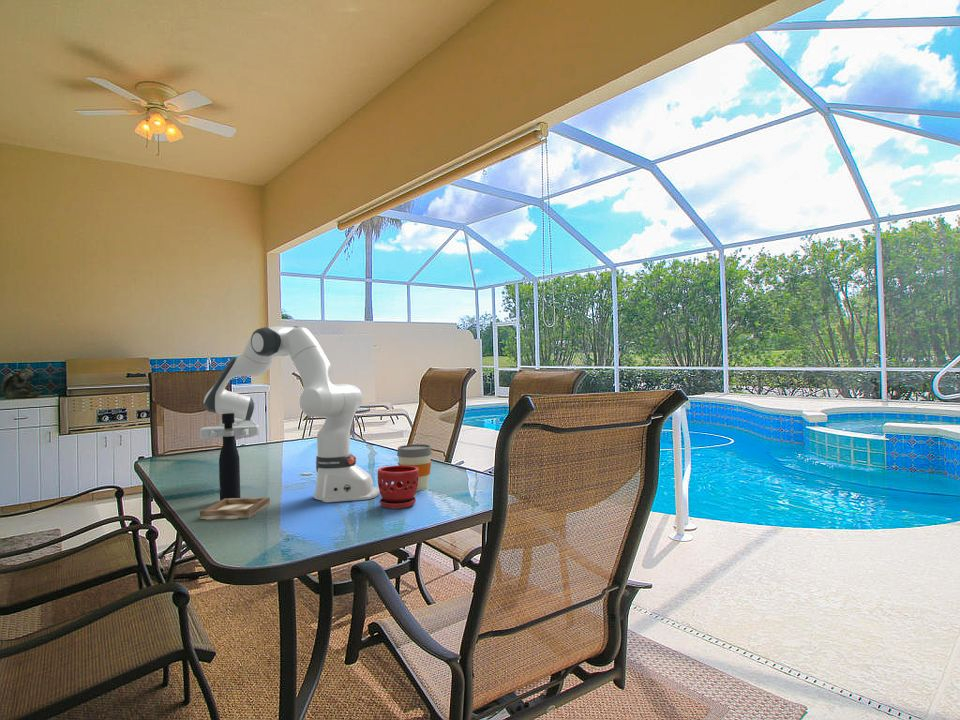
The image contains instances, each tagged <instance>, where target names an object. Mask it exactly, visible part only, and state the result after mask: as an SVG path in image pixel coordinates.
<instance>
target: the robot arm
mask: <svg viewBox="0 0 960 720" xmlns="http://www.w3.org/2000/svg"><path fill="white" fill-rule="evenodd" d="M284 356H285V357H286V356H289V357H290V360H292V361H291V362H292V363H293V364H294V366H295V368H296V370H297V372H298V374H299V377H300V379H301V381H302V386H303V389H302V393H301V395H300V397H299V406H300V409H301V411H302V413H303V414H304V415H306V416H307V417H313V418H325V420H324V423H323V425H322V427H321V428H320V429H319V431H318V432H317V434H316V448H317V449H316V450H317V452H316V456H315V457H316V458H315V469H316V470H315V471H316V482H315V483H316V484H315V490H314V494H313V499H315V500H319V501H321V502H323V503H335V502H350V501H351V502H352V501H365V500H370V499H371V500H372V499H374V498H376V497H377V496H378V495H379V494H380V491H379V487H378V486H377V487H376V486H374V482H373V478H372V476H371V474H370V473H369V472H367V471H366V470H364V469H363V468H362V467H360V466H359V465H357V455H353V454H352V453H351V429H352V424H353V422H354V421H353V420H354V417H355V414H356V412H357V410H358V409H359V408H360V407H361V406H362V402H363V393H362V391H361V389H360V388H359V387H358V386H357V385H354V384H349V383H332V382H331V380H330V378H329V373H330V372H331V371H332V370H331V369H332V364H331V362H330V361H329V359H328V357H327V355H326V353H325V351H324V350H323V347H322V346H321V344H320V343H319V341H318V340H317V338H316V337H315V336H314V334H312V332H311V331H310V330H309V329H308V328H307V327H303V326H284V325H282V326H281V325H277V326H276V325H275V326H269V327H260V328H257V329H255V330H254V331H253V333H252V334H251V336H250V338H249V340H248V341H247V342H246V345H245V348H244V350H243V352H242V354H240V355H238V356H237V357H232V359H230V360H229V361H228V362H227V364H226V366H225V367H224V368H223V370H222V372H221V373H220V374H219V376H218V378H217V379H216V381H215V383H214V384H213V385H212V387H211V388H210V389H209V390H208V391H207V393H206V394H205V396H204V399H203V407H204V409H205V410H206V412H208V413H213V414H220V415H222V414H226V413H234V423H232V428H233V429H230V430H233V434H234V436H235V441H237V440H241V439H247V438H253V437H255V436H259V435H260V426H259V424H258V423H257V422H255V420H254V419H251V418H252V416H253V413H254V409H255V402H254V400H253V398H252V397H250V396H248V395H245V394H241V393H236V392H234V391H230V390H227V389H226V387H227V386H228V384H229V382H230V381H231V380H232V379H233V378H238V377H258V376H261V375H263V374H265V373H267V372H268V371H269V369H270V368H271V366H272V364H273V362H274V359H275V357H284ZM224 431H227V430H225V429H224V424H222V420H221V421H220V423H219V425H216V426H215V425H214V426H205V427H201V428H200V429H199V438H200V439H202V440H205V439H218V438H221V440H223V436H224V435H223V434H224V433H223V432H224Z"/></svg>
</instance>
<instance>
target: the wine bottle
mask: <svg viewBox="0 0 960 720" xmlns="http://www.w3.org/2000/svg"><path fill="white" fill-rule="evenodd" d="M221 421H222V424H224V429H225V430H227V431H224V432H223V433H224V434H223V435H224V436H223V439H222V447H221V449H220V452H219V458H218V475H219V476H218V478H219V501H221V500H223V499H225V498H241V469H240V468H241V466H240V455H239V451H238V448H237V444H236V440H235V436H234V434H233V430H230V429H233V428H232V423H234V413H226V414H221Z"/></svg>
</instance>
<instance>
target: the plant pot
mask: <svg viewBox="0 0 960 720" xmlns="http://www.w3.org/2000/svg"><path fill="white" fill-rule="evenodd" d="M418 479H419V469H418V468H417V467H414V466H398V465H388V466H382V467H380V468H378V470H377V485H378V486H377V488H379V491H380V493H379V494H380V496H381V498H380V499H379V503H380V505H381V506H382V507H384V508H386V509H390V510H393V509H405V508H409V507H411V506H413V505H414V504H416V501H417V498H416V497H415V495H416V494H417V492H418V491H417V487H418ZM392 482H393V483H392ZM402 483H403V484H402Z"/></svg>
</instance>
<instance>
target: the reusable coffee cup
mask: <svg viewBox="0 0 960 720" xmlns="http://www.w3.org/2000/svg"><path fill="white" fill-rule="evenodd" d="M396 452H397V454H396V455H397V458H398V463H397V466H414V467H417V468H418V469H419V479H418V487H417V491H416V492H418V491H423V490H427V489H428V485H429V477H430V474H431V467H432V461H431V455H432V454H433V453H432V448H431V445H430V444H422V443H421V444H420V443H419V444H418V443H416V444H405V445H401V446H398V447H397V451H396ZM401 483H402V482H401ZM402 484H403V483H402Z"/></svg>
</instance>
